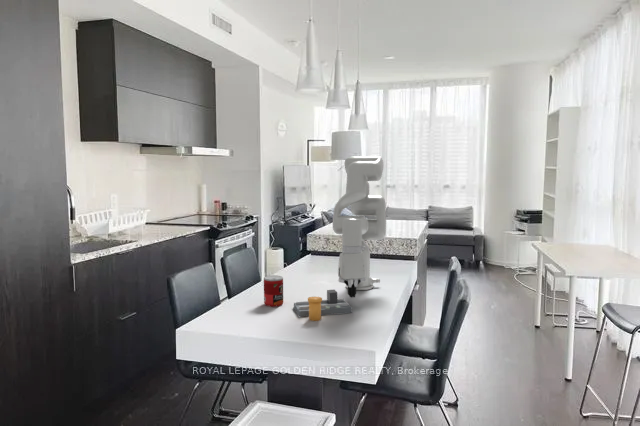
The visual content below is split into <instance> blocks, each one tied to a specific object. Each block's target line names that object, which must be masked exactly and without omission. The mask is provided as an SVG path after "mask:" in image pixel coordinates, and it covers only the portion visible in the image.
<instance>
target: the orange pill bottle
mask: <svg viewBox="0 0 640 426" xmlns="http://www.w3.org/2000/svg"><path fill="white" fill-rule="evenodd" d="M322 300H323V297H321V296H309V297H308V298H307V301H308V302H309V316H308V320H309V321H311V322H318V321H321V320H322V315H321V301H322Z"/></svg>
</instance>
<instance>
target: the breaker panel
mask: <svg viewBox="0 0 640 426" xmlns="http://www.w3.org/2000/svg"><path fill="white" fill-rule="evenodd" d="M293 309H294V310H295V312H296V314H297V315H298V317H300V318H301V317H309V302H308V300H301V301H300V300H299V301H295V302H293ZM352 309H353V308H352V306H351V305H350V304H349V302H346V301H345V299H344V298H337V304H328V303H327V299H322V301H321V316H327V315H329V316H330V315H338V314H339V315H342V314H352V312H353V310H352Z"/></svg>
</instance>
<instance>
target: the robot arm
mask: <svg viewBox="0 0 640 426" xmlns="http://www.w3.org/2000/svg"><path fill="white" fill-rule="evenodd" d="M344 170H345V174H346V185H345V186H346V187H345V194H343V196H341V197H340V198H339V199H338V200H337V202H336V204H335V206H334V209H333V214H332V231H333V232H334V233H335V234H336V235H342V237H341V238H342V239H341V240H342V244H341V246H342V250H341V252H340V253H339V257H338V265H337V266H338V267H337V274H338V280H337V281H338V282H339V283H342V284H345V288H347V295H348V296H349V298H356V295H357V291H367V290H371V289H373V288H374V283H375V284H377V283H379V284H380V282H381V279H380V278H375V277H372V276H370V275H371V270H370V269H371V265H370V264H371V262H370V261H371V251H370V250H371V249H370V247H369V245H368V243H366V242H365V241H382V240H384V239H385V237H386V232H387V203H386V200H385V197H383V195H378V194H377V195H376V194H375V195H373V194H372V195H371V194H370V183H369V182H379V181H380V180H381V179H382V177H383V171H384V160H383V158H382V156H379V155H368V156H367V155H366V156H365V155H362V156H361V155H357V156H356V155H353V156H348V157H346V158H345V160H344ZM349 206H350V212H351V214H352V215H342V212H343V210H345V209H346V208H348V207H349ZM367 217H375V218H367Z"/></svg>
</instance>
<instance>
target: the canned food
mask: <svg viewBox="0 0 640 426" xmlns="http://www.w3.org/2000/svg"><path fill="white" fill-rule="evenodd" d="M263 303H264V305H265V306H267V307H272V308H273V307H280V306H282V305H283V304H284V277H283V276H281V275H276V274H273V275H271V274H270V275H266V276H264V277H263Z"/></svg>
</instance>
